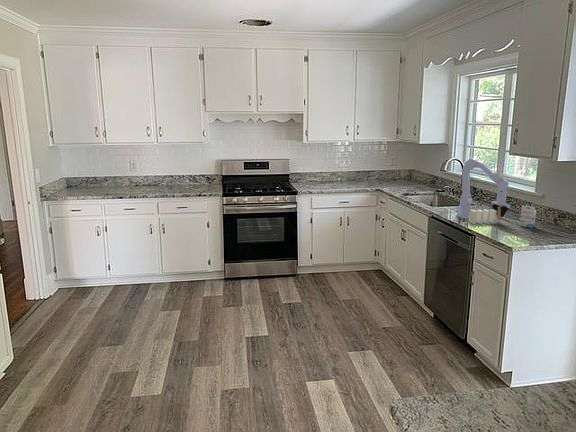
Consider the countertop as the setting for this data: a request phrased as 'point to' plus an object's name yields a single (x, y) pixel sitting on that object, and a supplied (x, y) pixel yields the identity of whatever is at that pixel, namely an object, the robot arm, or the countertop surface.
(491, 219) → the cream domino
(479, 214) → the cream domino
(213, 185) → the countertop surface
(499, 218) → the terracotta domino
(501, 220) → the mat
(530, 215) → the ink box
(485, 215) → the cream domino
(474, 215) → the cream domino
